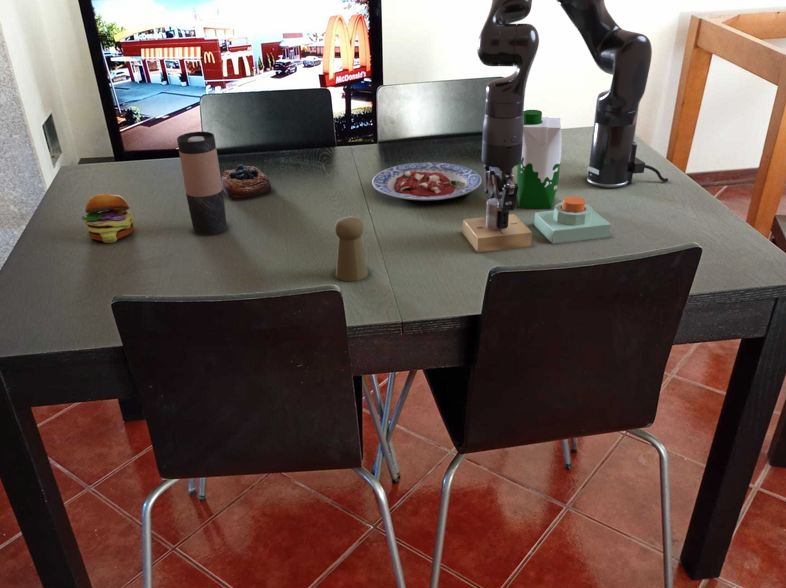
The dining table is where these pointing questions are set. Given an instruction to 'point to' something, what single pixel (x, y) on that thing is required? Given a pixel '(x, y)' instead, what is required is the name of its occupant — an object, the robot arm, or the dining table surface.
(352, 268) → the wooden pawn
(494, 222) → the dial
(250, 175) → the pastry
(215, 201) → the travel mug
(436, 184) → the ceramic plate
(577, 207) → the orange button cap
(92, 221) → the cheeseburger
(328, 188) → the dining table surface
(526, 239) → the panel
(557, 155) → the milk carton
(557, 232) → the button base
